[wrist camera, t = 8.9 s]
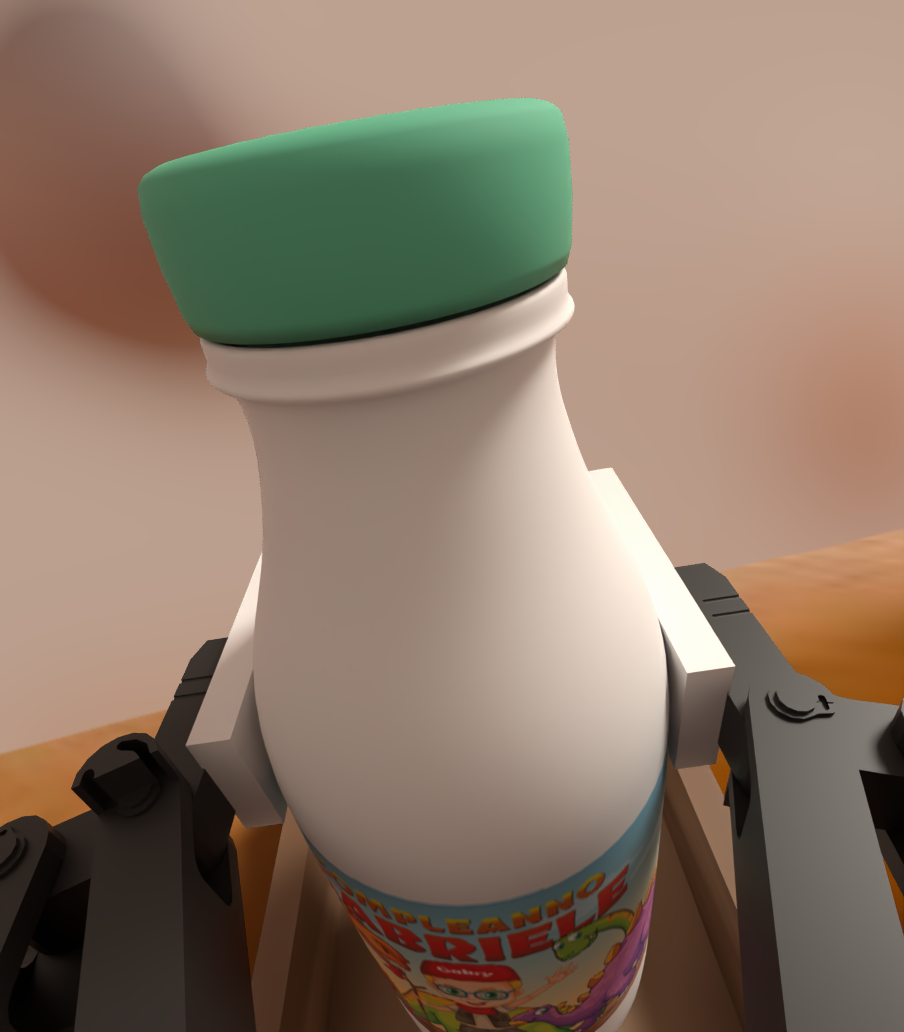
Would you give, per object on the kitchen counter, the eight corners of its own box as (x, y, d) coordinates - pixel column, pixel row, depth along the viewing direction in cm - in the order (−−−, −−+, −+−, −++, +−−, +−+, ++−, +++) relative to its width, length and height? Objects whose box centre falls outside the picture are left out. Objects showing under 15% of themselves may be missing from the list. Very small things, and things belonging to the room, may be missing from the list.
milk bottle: (385, 817, 20) (119, 186, 9) (589, 770, 20) (577, 103, 9) (398, 1127, 13) (-521, 228, 2) (698, 1052, 14) (1099, -58, 3)
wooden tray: (269, 1337, 13) (178, 1344, 10) (342, 751, 25) (311, 682, 23) (870, 1279, 12) (949, 1269, 10) (640, 709, 25) (645, 633, 22)
